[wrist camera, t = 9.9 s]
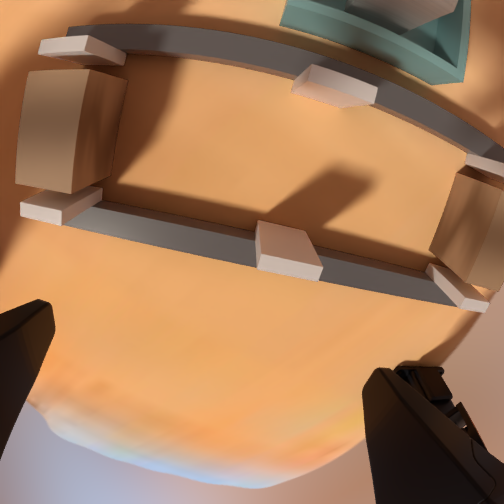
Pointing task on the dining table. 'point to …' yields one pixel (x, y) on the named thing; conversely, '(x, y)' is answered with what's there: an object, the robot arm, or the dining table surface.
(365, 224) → the dining table surface
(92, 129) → the walnut block
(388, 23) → the tea bag
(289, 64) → the clip holder
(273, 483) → the dining table surface
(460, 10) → the teal tray
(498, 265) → the walnut block
